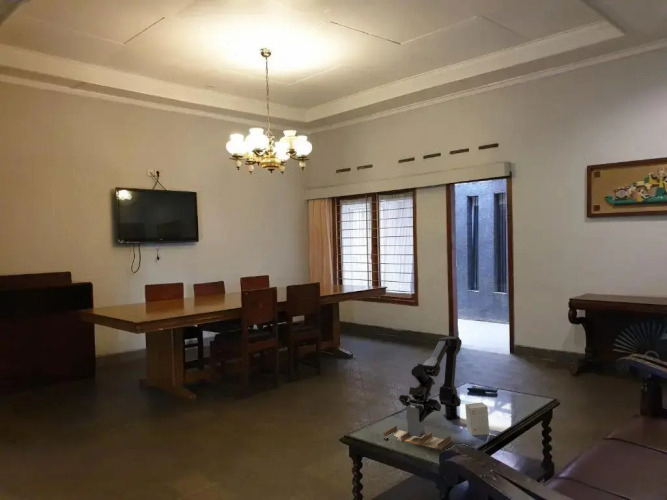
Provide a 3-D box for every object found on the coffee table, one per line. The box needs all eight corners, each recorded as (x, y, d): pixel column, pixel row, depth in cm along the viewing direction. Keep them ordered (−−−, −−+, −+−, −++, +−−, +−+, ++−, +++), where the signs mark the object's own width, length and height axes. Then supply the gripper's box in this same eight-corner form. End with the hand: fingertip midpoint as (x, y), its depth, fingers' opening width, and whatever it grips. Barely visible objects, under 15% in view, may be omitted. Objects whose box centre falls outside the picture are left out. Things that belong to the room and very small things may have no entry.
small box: (484, 430, 230) (482, 401, 230) (489, 435, 224) (487, 406, 224) (466, 432, 230) (464, 403, 230) (472, 437, 223) (470, 408, 223)
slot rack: (383, 438, 229) (382, 432, 229) (395, 431, 237) (394, 425, 237) (440, 451, 211) (440, 444, 211) (451, 443, 219) (451, 436, 219)
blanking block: (408, 434, 224) (406, 406, 224) (412, 431, 228) (410, 403, 227) (420, 437, 221) (418, 408, 220) (424, 434, 224) (422, 405, 224)
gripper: (399, 376, 233) (387, 408, 224) (436, 381, 221) (425, 414, 212) (409, 389, 239) (398, 420, 230) (445, 394, 227) (435, 427, 219)
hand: (413, 420), depth 223 cm, fingers closed on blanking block, 6 cm apart
